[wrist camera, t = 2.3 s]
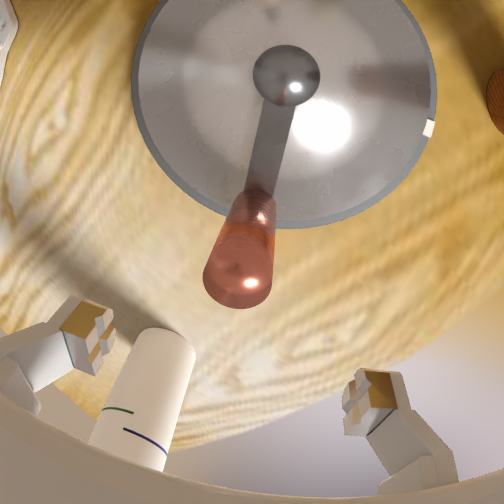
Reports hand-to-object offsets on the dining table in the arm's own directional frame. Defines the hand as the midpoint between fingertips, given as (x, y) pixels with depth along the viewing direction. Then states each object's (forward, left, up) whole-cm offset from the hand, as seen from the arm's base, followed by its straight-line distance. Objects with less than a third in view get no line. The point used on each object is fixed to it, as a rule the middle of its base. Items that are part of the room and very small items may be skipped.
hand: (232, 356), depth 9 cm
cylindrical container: (+14, -16, -16) cm, 27 cm away
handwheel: (-7, +4, -13) cm, 16 cm away
